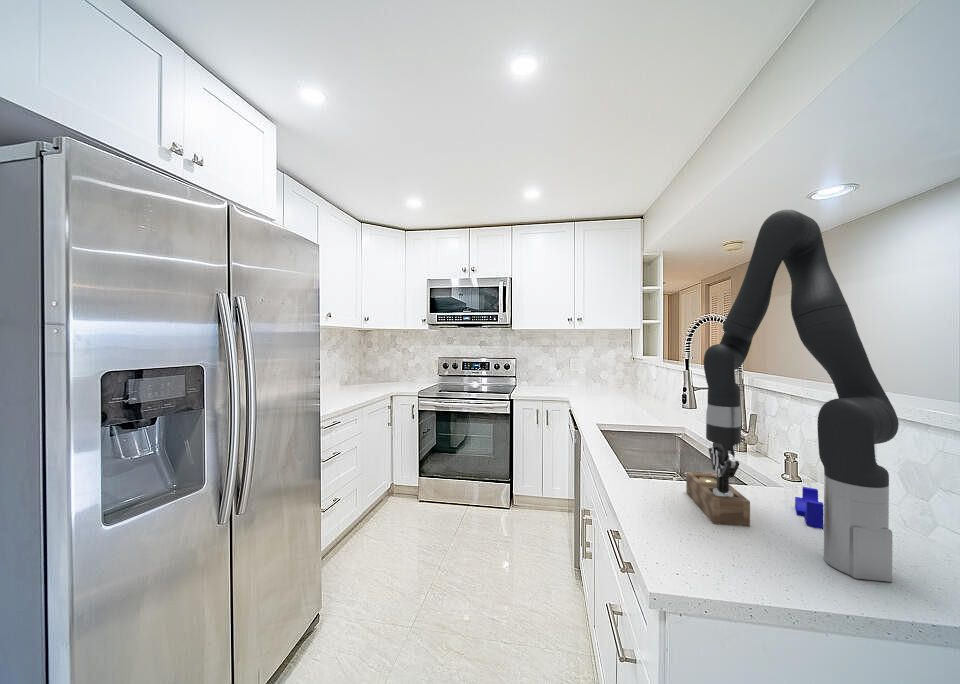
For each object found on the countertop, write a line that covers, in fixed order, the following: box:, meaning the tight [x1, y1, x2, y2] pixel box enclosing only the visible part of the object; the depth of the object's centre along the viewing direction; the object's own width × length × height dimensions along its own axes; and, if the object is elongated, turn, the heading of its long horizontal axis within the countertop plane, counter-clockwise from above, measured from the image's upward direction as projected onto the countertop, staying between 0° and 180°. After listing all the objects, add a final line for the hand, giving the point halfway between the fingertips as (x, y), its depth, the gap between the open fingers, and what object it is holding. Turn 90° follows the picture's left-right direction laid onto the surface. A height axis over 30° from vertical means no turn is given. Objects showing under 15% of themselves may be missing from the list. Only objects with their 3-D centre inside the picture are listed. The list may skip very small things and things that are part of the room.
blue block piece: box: [794, 486, 824, 530], centre depth 100 cm, size 12×4×6 cm, turn 145°
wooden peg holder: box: [685, 471, 751, 528], centre depth 105 cm, size 20×8×6 cm, turn 170°
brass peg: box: [699, 477, 717, 482], centre depth 110 cm, size 4×4×6 cm
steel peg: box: [713, 488, 733, 497], centre depth 101 cm, size 4×4×6 cm
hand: (722, 490), depth 101 cm, fingers closed
